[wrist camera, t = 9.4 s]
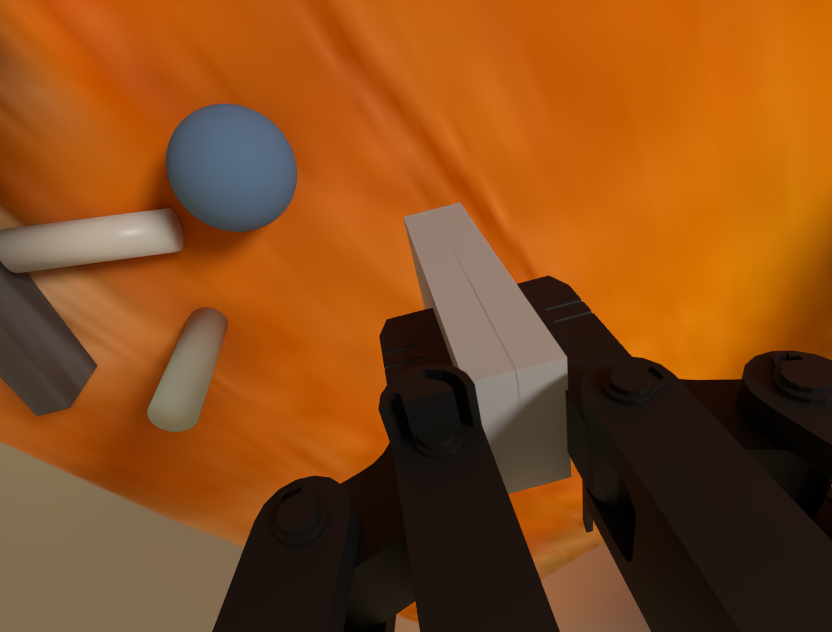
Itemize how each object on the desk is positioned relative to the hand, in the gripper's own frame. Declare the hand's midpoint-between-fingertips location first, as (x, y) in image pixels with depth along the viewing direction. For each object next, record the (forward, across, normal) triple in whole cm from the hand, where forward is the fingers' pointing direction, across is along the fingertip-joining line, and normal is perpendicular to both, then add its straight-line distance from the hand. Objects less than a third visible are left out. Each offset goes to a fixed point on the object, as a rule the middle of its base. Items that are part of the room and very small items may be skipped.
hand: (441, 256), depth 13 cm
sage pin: (+16, +14, +9) cm, 23 cm away
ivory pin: (+15, +13, +2) cm, 20 cm away
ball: (+13, +8, 0) cm, 15 cm away
